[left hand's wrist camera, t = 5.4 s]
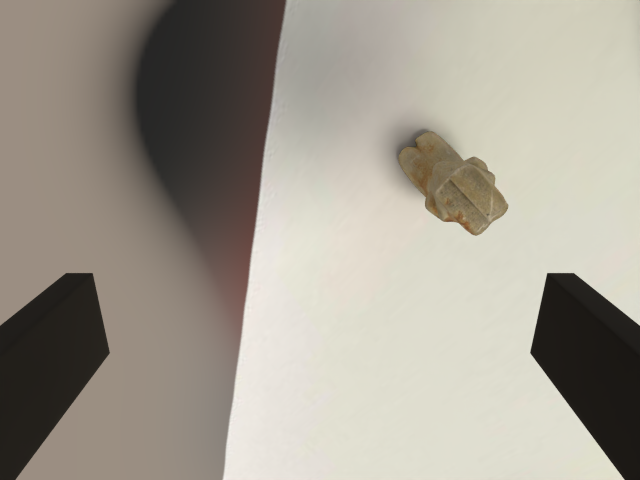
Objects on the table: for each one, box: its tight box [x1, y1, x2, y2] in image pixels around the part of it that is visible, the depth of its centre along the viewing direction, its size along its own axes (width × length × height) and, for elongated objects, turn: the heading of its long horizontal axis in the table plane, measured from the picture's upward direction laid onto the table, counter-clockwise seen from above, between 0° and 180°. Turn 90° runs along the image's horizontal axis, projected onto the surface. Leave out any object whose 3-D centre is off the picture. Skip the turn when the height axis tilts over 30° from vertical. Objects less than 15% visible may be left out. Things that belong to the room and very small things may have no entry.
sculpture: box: [398, 132, 508, 236], centre depth 37 cm, size 6×7×15 cm
